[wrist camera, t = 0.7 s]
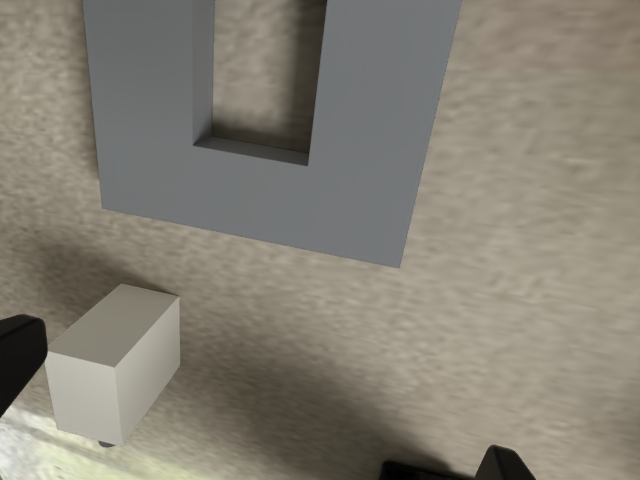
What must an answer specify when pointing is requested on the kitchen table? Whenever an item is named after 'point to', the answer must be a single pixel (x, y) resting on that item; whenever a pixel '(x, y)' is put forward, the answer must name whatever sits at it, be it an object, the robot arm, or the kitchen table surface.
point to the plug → (114, 363)
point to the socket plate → (264, 161)
